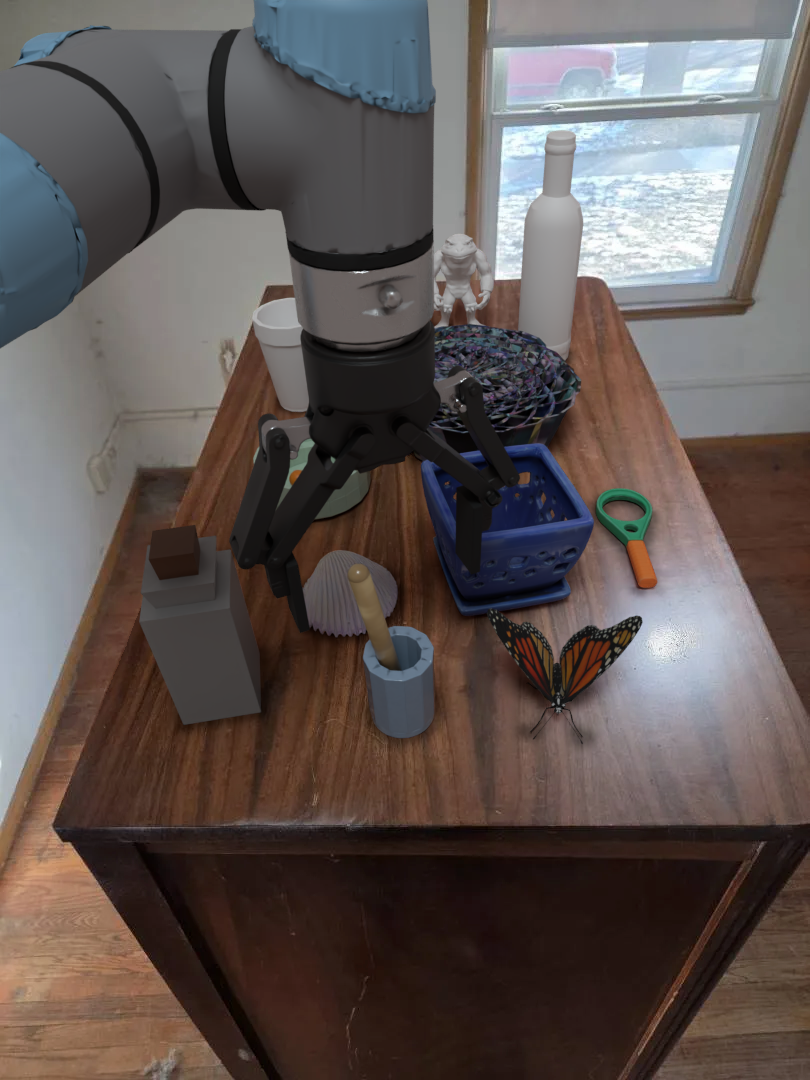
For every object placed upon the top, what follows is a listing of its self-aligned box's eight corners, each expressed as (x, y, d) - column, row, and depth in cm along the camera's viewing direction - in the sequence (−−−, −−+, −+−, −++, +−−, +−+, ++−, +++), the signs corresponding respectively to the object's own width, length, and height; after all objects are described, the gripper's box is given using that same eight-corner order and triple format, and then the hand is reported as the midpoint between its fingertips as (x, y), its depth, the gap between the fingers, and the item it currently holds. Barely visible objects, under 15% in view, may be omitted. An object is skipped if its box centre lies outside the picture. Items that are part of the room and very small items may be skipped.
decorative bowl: (485, 370, 111) (484, 306, 105) (620, 441, 92) (628, 368, 86) (338, 426, 102) (327, 359, 95) (456, 518, 83) (452, 442, 76)
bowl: (248, 521, 84) (240, 487, 81) (275, 454, 94) (269, 421, 91) (361, 525, 83) (357, 491, 80) (377, 457, 93) (374, 424, 89)
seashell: (372, 528, 78) (409, 571, 70) (379, 571, 81) (415, 617, 72) (279, 555, 75) (307, 604, 67) (289, 600, 78) (317, 651, 69)
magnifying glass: (590, 496, 85) (592, 485, 84) (643, 495, 85) (646, 483, 84) (615, 590, 74) (618, 578, 73) (676, 589, 73) (680, 577, 72)
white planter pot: (270, 386, 107) (254, 300, 99) (333, 380, 108) (323, 294, 99) (268, 421, 100) (250, 332, 92) (336, 414, 101) (325, 325, 92)
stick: (393, 713, 63) (343, 576, 51) (395, 698, 64) (346, 559, 52) (411, 713, 63) (365, 574, 51) (413, 697, 64) (368, 558, 52)
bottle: (527, 338, 115) (542, 123, 95) (576, 348, 112) (602, 128, 92) (507, 361, 110) (519, 139, 90) (557, 372, 107) (581, 144, 86)
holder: (366, 736, 62) (358, 678, 57) (375, 683, 67) (368, 624, 61) (432, 740, 62) (430, 682, 57) (437, 686, 66) (435, 627, 61)
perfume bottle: (261, 712, 65) (216, 565, 53) (183, 725, 64) (120, 579, 52) (259, 653, 70) (219, 507, 58) (187, 664, 69) (131, 519, 57)
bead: (284, 475, 86) (300, 466, 86) (287, 475, 88) (303, 466, 88) (293, 492, 86) (309, 483, 86) (296, 491, 89) (312, 482, 88)
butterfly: (480, 743, 62) (483, 668, 55) (486, 652, 69) (489, 576, 62) (629, 756, 60) (651, 681, 53) (619, 662, 67) (637, 586, 60)
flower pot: (536, 526, 82) (545, 436, 74) (583, 612, 72) (599, 519, 64) (420, 547, 80) (417, 457, 72) (452, 637, 70) (452, 545, 62)
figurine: (490, 319, 120) (493, 225, 110) (494, 338, 115) (497, 241, 105) (424, 322, 121) (422, 228, 111) (425, 340, 116) (422, 244, 106)
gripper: (149, 409, 35) (234, 684, 49) (596, 302, 41) (556, 570, 56) (127, 342, 40) (210, 609, 54) (527, 257, 47) (507, 513, 61)
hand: (386, 590), depth 55 cm, fingers open, 13 cm apart
